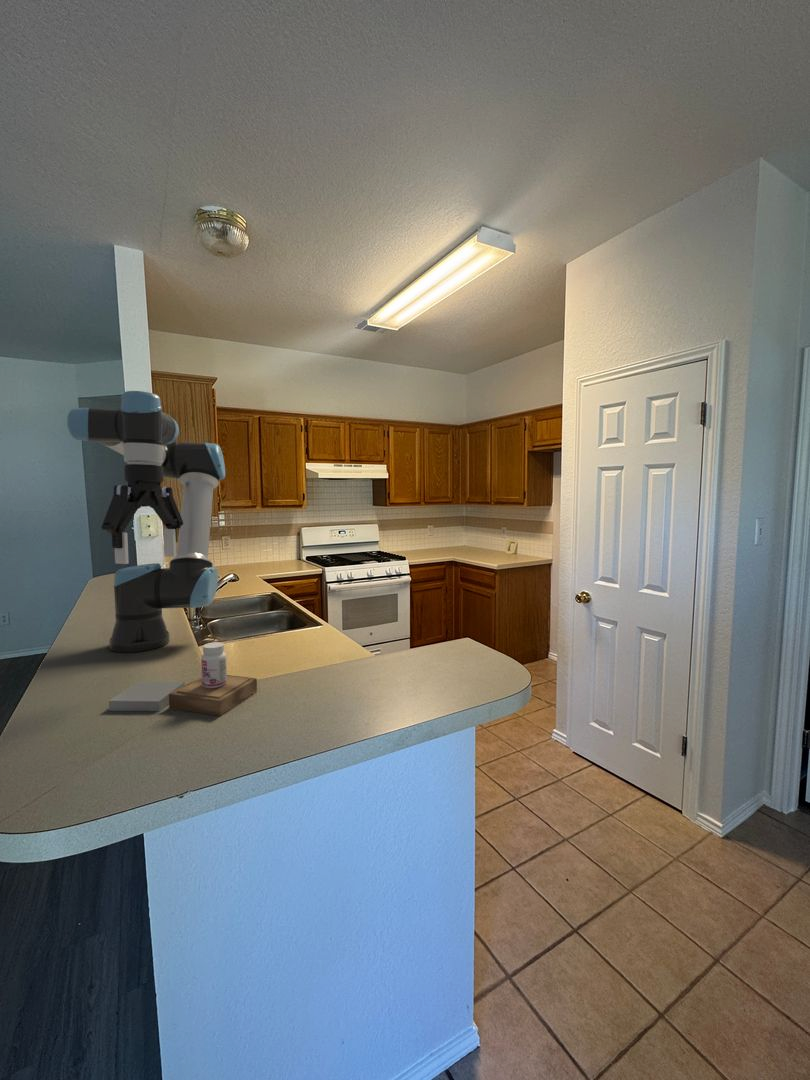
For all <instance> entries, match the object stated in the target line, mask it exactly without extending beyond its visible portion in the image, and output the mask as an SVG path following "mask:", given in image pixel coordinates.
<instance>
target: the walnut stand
mask: <svg viewBox="0 0 810 1080" xmlns="http://www.w3.org/2000/svg"><path fill="white" fill-rule="evenodd" d="M256 691H257V692H258V680H257V677H256V678H255V677H249V676H239V675H230V674H227V682H226V684H225V685H223V686H221V687H218V688H205V687H203V686H202V676H201V677H199V678H197V679H195V680H193V681H191V682H189V683H187V684H185V686H183V687H181V688H179V689H177V690H175V691H173V692H171V693H169V704H168V708H169V709H170V710H177V709H178V711H183V710H184V711H185V712H190V711H192V713H197V712H198V714H204V715H210V716H211V715H212V716H216V717H217V716H218V717H222V716H223V715H225V714H226V713H227V712H229V711H231V710H232V709H234V708H236V707H237V706H238V705H239V703H240V704H241V703H243V702H244V701H246V700H247V699H248V697H249V698H250V697H251V695H252V694H253V693H255V692H256ZM257 692H256V693H257ZM256 693H255V694H256ZM253 695H254V694H253ZM253 695H252V696H253ZM245 699H246V700H245ZM242 701H243V702H242Z"/></svg>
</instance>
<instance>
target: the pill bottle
mask: <svg viewBox="0 0 810 1080" xmlns="http://www.w3.org/2000/svg"><path fill="white" fill-rule="evenodd" d="M202 652H203V654H202V655H201V677H202V686H203V687H205V688H218V687H221V686H223V685H225V684H226V682H227V675H228V674H227V654H226V652H225V643H223V642H219V641H215V642H214V641H213V642H208V643H205V644H203V646H202Z"/></svg>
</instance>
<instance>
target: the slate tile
mask: <svg viewBox="0 0 810 1080" xmlns="http://www.w3.org/2000/svg"><path fill="white" fill-rule="evenodd" d="M185 685H186V684H185V681H140V680H139V681H137V682H136V683H134V684H133V685H130V687H128V688H126V689H125V690H123V691H121V692H120V693H119V694H117V695H115V696H114V697H113V698H111V699H109V700H108V710H109V712H111V711H112V712H119V711H120V712H126V711H127V712H161V711H162V710H163V709H164V708H166V707H167V706H169V693H171V692H173V691H175V690H177V689H179V688H181V687H183V686H185Z"/></svg>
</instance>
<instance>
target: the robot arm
mask: <svg viewBox="0 0 810 1080" xmlns="http://www.w3.org/2000/svg"><path fill="white" fill-rule="evenodd" d="M120 402H121V403H120V409H118V408H117V409H114V408H99V407H97V408H96V407H95V408H94V407H93V408H92V407H89V406H87V407H74V408H72V409H70V410H69V411H68V414H67V418H66V419H67V420H66V421H67V423H66V424H67V429H68V432H69V434H70V436H71V437H72V438H73V439H75V440H77V441H83V442H96V443H99V444H100V445H103V446H104V447H107V448H109V449H111V450H112V451H115V452H116V453H119V454H120V455H122V456H123V461H124V462H125V463H127V464H124V466H123V468H124V469H123V471H124V472H123V473H124V476H123V477H124V480H125V482H126V483H127V485H124V484H119V485H118V484H117V485H114V487H113V496H112V498H111V501H110V504H109V507H108V508H107V512H106V514H105V516H104V519H103V520H102V521H103V522H102V524H101V529H102V530H103V531H106V532H107V533H110V534H111V546H112V548H113V549H114V563H115V564H116V565H117V564H118V565H127V564H129V563H130V562H129V561H130V559H129V543H128V542H129V541H128V539H129V537H128V532H125V530H126V528H127V527H128V525H129V523H130V522H131V520H132V519H133V517H135V514H136V512H137V511H138V510H139V509H140V508H142V507H149V508H151V509H152V510H153V511H154V513H156V515H157V516H158V518H159V519H160V521H161V522H162V523H163V525H164V526H165V528H163V530H162V531H163V554H164V555H163V556H164V557H173V558H171V560H170V562H169V567H168V568H167V567H166V568H162V565H161V563H158V562H157V563H146V564H140V565H139V564H138V565H133V566H129V567H127V566H126V567H124V568H119V569H118V570H117V571H116V572H115V573H114V579H113V581H114V583H113V594H114V610H115V623H114V626H113V629H112V633H111V637H110V638H109V642H108V644H109V645H108V647H109V650H110V651H111V652H116V653H136V652H137V653H138V652H139V653H140V652H144V651H150V650H154V649H158V648H161V647H164V646H166V645H167V644H169V643H170V641H171V640H170V632H169V631H168V630H167V626H166V622H165V620H164V618H163V609H185V608H186V609H189V608H192V609H196V608H203V607H208V606H210V605H211V604H212V603H213V601H214V599H215V597H216V593H217V591H218V583H219V579H218V578H219V573H218V569H217V568H216V567H214V566H213V565H214V563H213V561H211V560H210V559H209V546H210V532H211V524H212V523H211V522H212V512H213V511H212V510H213V509H212V508H213V498H214V496H213V495H214V490H215V489H217V487H218V486H219V484H220V480H221V481H222V480H224V479H225V478H226V465H225V459H224V455H223V454H224V453H223V452H222V448H221V446H220V445H219V444H217V443H212V442H211V443H209V442H206V441H205V442H185V441H184V442H182V441H180V442H179V441H176V440H177V439H178V437H179V434H180V429H179V425H178V423H177V421H176V420H175V419H174V418H173V417H172V416H171V415H170V414H168V413H165V412H164V411H162V409H163V407H162V405H161V404H162V402H161V398H160V396H159V395H157V394H156V393H152V392H149V391H142V390H141V391H140V390H127V391H124V392H123V393H122V394H121V401H120ZM164 478H168V479H178V481H179V482H180V484H181V485H182V486H183V493H182V502H181V511H180V510H179V508H178V506H177V503H176V500H175V498H174V493H173V489H172V487H171V486H170V487H168V486H162V485H161V483H163V482H164ZM177 530H178V531H177ZM177 532H178V536H177ZM177 537H178V538H177ZM176 542H177V543H176Z"/></svg>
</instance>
